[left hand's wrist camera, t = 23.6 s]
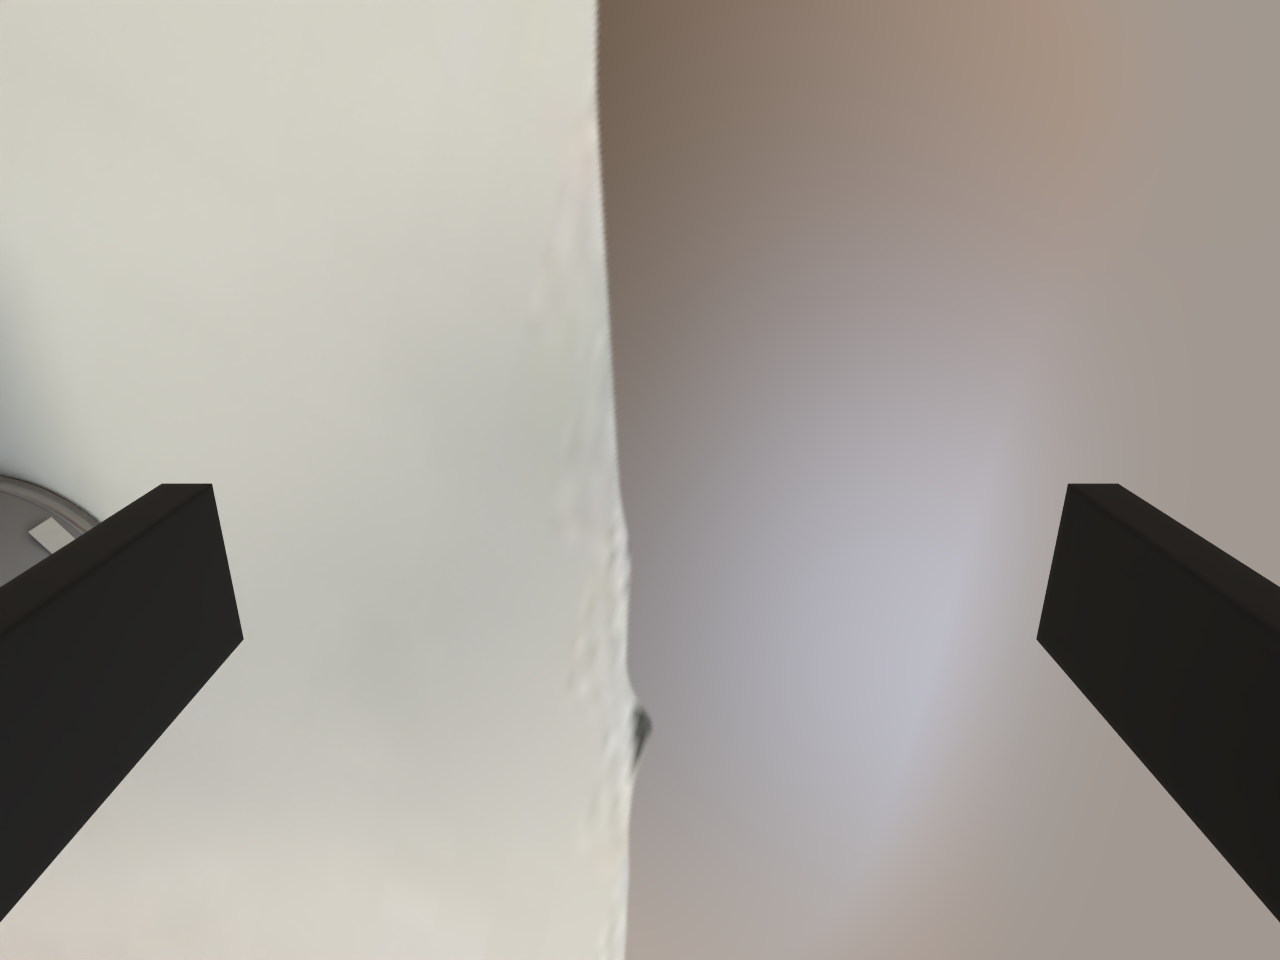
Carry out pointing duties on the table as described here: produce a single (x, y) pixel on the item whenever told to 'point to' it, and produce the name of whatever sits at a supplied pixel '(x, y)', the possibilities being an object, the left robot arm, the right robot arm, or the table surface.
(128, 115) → the table surface
